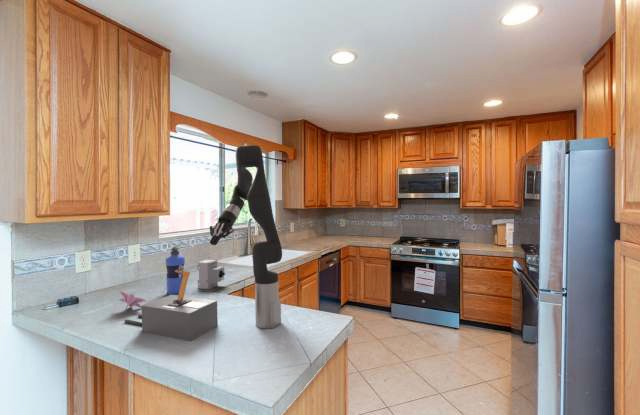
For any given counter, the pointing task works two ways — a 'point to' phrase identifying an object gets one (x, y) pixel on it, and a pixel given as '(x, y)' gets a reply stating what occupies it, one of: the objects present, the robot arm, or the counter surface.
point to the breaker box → (178, 317)
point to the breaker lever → (183, 286)
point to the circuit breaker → (209, 274)
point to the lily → (131, 300)
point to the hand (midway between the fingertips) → (212, 243)
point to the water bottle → (174, 271)
